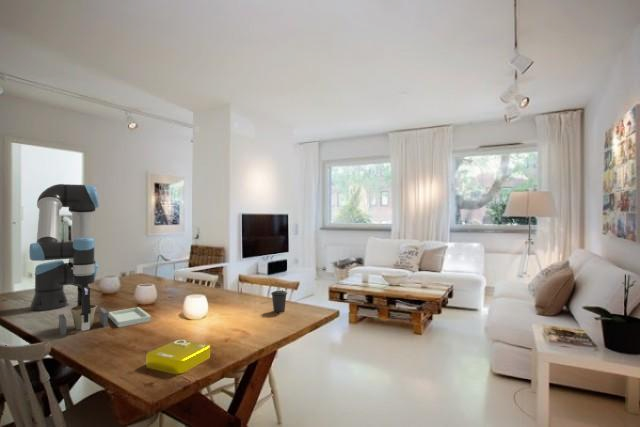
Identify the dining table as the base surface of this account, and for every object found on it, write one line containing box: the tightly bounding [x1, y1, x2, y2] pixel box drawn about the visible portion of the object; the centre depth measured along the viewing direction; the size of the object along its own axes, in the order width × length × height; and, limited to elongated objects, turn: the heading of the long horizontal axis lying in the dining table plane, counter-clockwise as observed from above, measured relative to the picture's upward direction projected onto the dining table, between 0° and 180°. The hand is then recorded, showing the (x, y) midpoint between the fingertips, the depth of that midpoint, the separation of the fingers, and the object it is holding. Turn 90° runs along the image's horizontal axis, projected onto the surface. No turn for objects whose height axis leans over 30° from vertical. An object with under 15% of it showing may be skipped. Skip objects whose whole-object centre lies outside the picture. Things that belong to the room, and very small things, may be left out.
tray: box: [108, 306, 152, 328], centre depth 157 cm, size 20×13×2 cm, turn 42°
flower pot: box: [69, 304, 98, 331], centre depth 146 cm, size 9×9×9 cm
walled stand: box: [58, 307, 109, 336], centre depth 146 cm, size 10×16×6 cm, turn 132°
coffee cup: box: [270, 290, 288, 314], centre depth 170 cm, size 8×8×10 cm
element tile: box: [145, 339, 211, 375], centre depth 113 cm, size 15×15×5 cm
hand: (83, 327), depth 146 cm, fingers open, 9 cm apart
